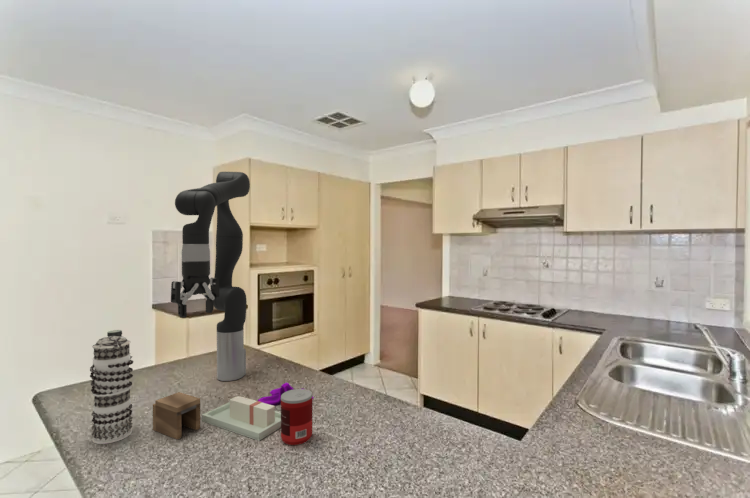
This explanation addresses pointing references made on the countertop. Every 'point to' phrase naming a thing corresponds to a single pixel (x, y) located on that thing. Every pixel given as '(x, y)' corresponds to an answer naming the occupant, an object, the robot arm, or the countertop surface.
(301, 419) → the canned food
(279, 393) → the cloth
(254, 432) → the tray
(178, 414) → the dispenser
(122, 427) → the decorative candle
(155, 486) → the countertop surface
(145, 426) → the countertop surface
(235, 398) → the pink-banded white block
